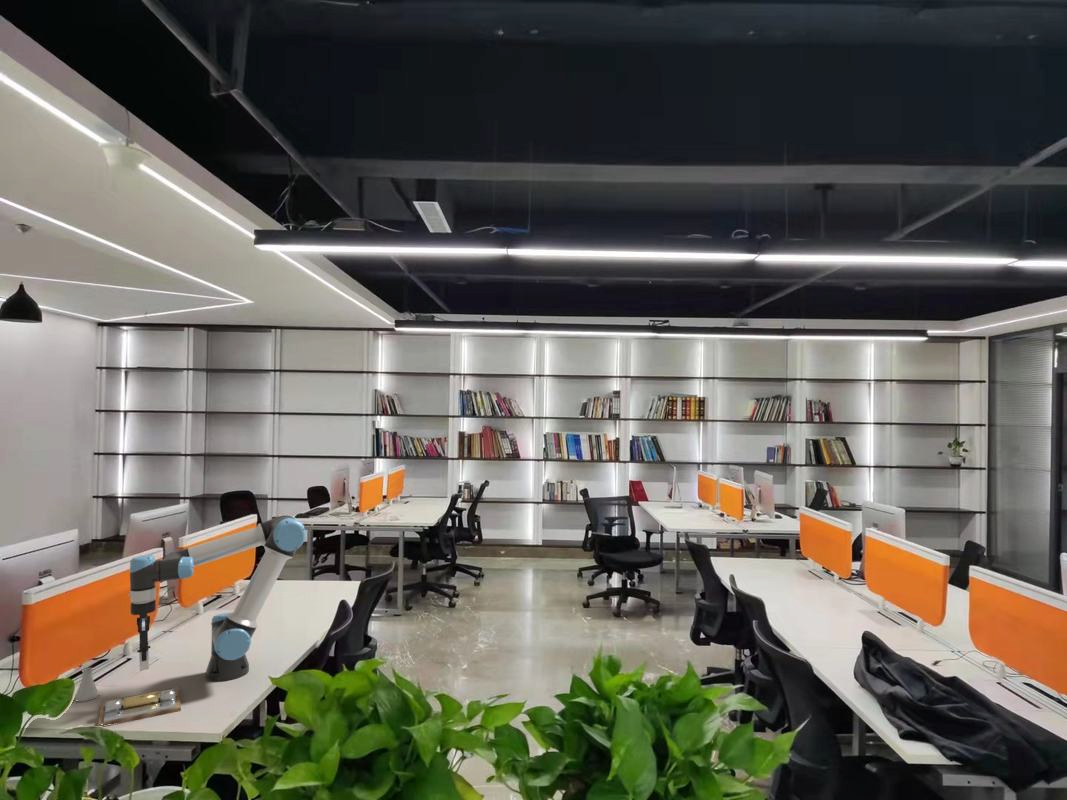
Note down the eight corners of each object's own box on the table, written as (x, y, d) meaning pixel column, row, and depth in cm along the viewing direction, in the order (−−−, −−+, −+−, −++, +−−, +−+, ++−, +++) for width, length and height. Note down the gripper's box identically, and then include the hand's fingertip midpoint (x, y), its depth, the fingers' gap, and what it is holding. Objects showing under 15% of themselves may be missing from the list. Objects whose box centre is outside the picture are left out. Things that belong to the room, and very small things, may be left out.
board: (178, 690, 231) (178, 687, 231) (180, 710, 214) (180, 707, 214) (102, 705, 219) (102, 701, 219) (98, 728, 202) (98, 724, 202)
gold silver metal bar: (174, 694, 225) (174, 682, 225) (175, 702, 217) (175, 690, 218) (106, 707, 214) (106, 695, 214) (104, 716, 207) (105, 704, 207)
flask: (83, 703, 220) (83, 674, 221) (69, 700, 223) (70, 671, 224) (103, 695, 227) (104, 667, 228) (90, 692, 230) (91, 664, 230)
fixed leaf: (176, 698, 221) (176, 686, 221) (177, 707, 214) (177, 695, 214) (103, 712, 210) (104, 700, 210) (102, 722, 203) (102, 709, 203)
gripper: (130, 598, 226) (131, 665, 225) (130, 607, 215) (131, 677, 214) (155, 595, 230) (156, 661, 229) (155, 603, 219) (156, 672, 218)
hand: (144, 669), depth 222 cm, fingers closed
